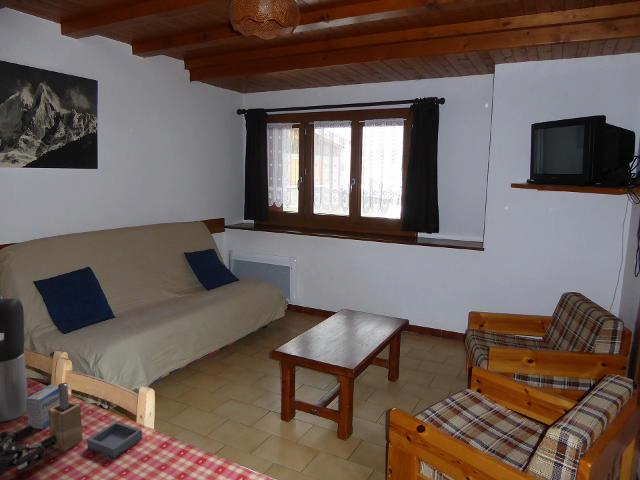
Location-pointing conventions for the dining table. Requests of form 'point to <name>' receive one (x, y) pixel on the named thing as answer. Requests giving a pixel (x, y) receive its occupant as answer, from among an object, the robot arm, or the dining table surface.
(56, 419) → the sleeve
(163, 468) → the dining table surface
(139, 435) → the tray
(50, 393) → the medicine box
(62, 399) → the post
